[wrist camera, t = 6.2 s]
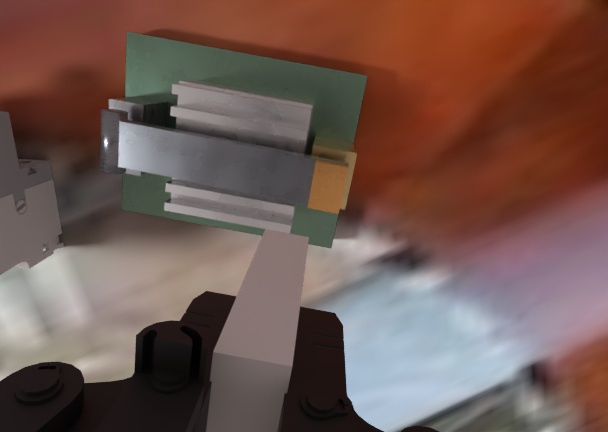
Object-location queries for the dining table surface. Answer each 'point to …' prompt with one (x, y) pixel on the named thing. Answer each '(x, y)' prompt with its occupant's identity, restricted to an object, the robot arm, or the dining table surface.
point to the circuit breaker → (25, 206)
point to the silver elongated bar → (220, 162)
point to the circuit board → (238, 128)
